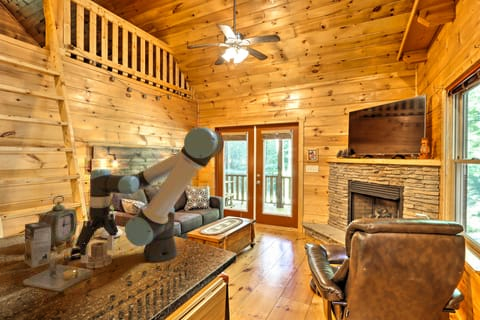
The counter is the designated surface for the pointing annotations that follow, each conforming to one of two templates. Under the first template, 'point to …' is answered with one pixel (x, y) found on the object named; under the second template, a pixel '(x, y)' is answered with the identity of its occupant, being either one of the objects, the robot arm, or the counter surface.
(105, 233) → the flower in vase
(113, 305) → the counter surface
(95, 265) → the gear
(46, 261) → the coffee box
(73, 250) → the black piece
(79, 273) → the carrier
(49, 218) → the tabletop clock
